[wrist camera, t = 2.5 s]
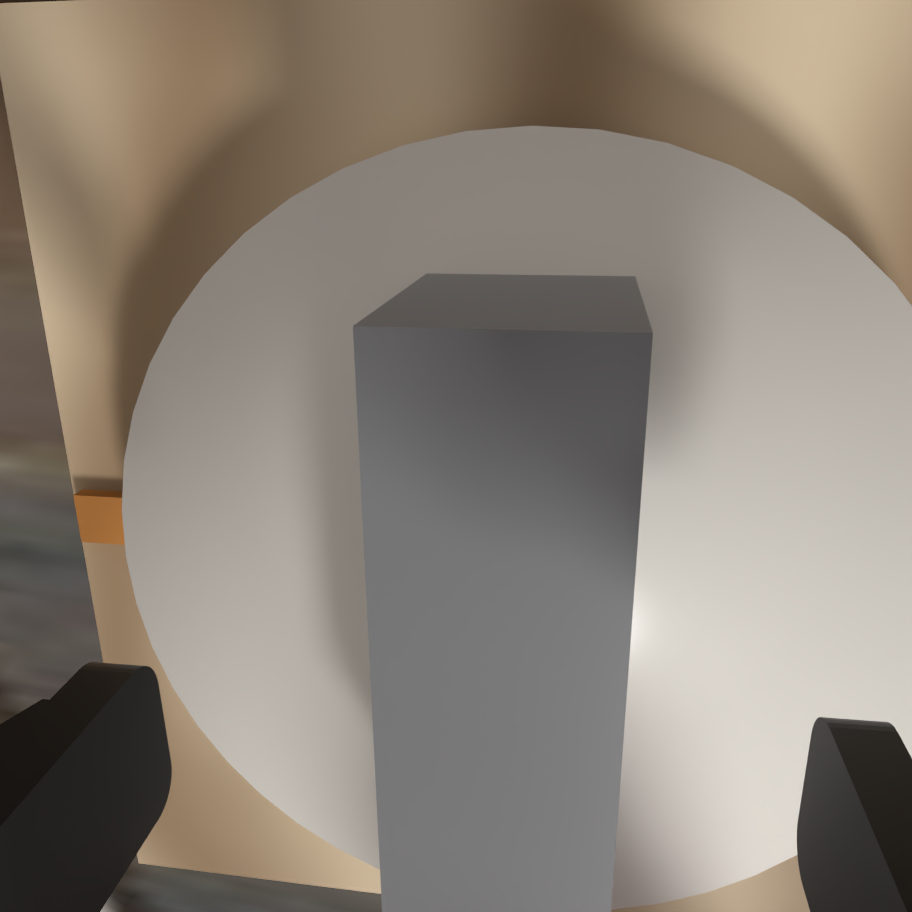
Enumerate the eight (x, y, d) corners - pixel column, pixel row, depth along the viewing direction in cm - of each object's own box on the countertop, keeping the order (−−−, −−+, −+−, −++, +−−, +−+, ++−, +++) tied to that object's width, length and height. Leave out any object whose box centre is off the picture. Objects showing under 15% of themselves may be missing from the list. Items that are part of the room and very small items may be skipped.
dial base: (1142, -17, 13) (1251, -50, 11) (926, 887, 19) (969, 980, 17) (60, 21, 15) (-26, 0, 13) (178, 802, 22) (132, 873, 19)
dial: (1040, 121, 12) (1383, 99, 7) (878, 887, 16) (1003, 1218, 11) (113, 134, 14) (-171, 122, 9) (205, 810, 19) (58, 1060, 13)
